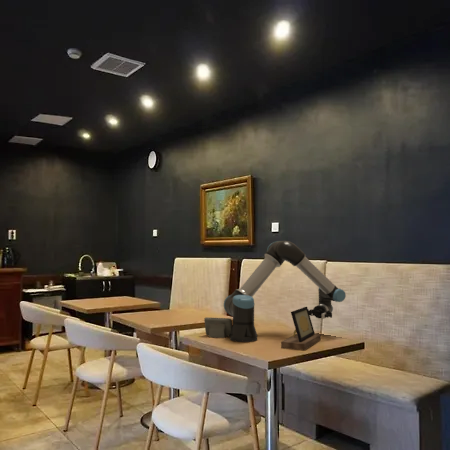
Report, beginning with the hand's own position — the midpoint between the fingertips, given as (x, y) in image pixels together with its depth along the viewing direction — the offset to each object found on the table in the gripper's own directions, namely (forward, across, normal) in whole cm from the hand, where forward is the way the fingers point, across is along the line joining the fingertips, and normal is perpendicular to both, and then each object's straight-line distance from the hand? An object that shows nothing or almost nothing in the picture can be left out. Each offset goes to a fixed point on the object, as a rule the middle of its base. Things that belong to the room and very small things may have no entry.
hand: (310, 315), depth 240 cm
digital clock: (+18, +48, -13) cm, 53 cm away
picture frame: (+14, +1, -10) cm, 17 cm away
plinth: (+15, 0, -12) cm, 20 cm away
